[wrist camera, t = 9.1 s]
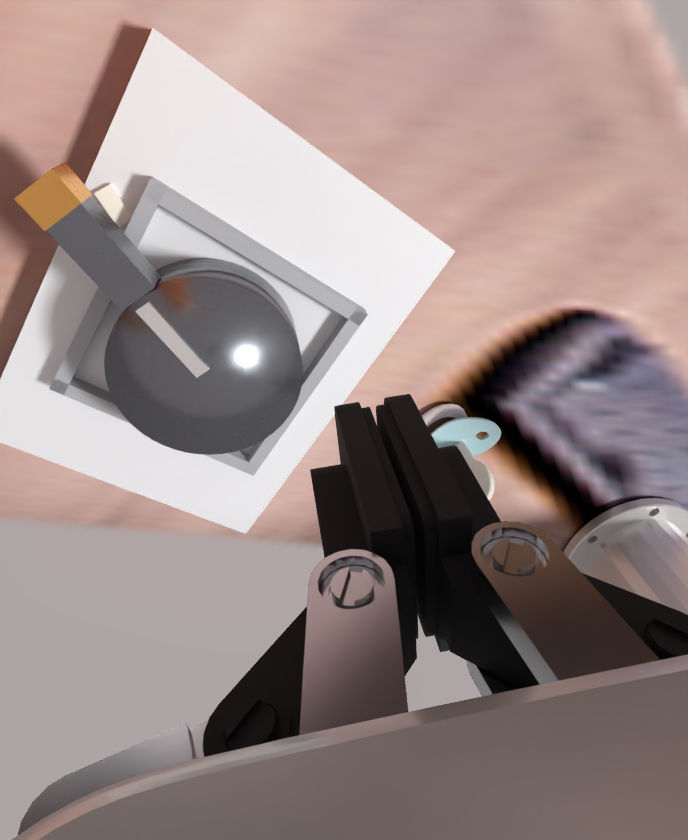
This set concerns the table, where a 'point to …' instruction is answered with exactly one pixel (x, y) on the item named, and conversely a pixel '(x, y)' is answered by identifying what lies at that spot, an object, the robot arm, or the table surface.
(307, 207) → the panel
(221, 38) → the table surface
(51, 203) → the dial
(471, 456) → the pacifier
